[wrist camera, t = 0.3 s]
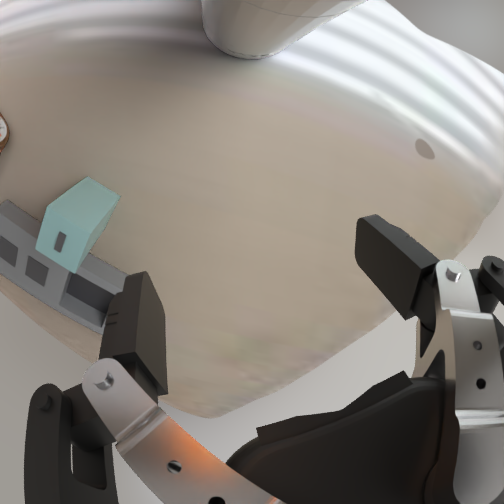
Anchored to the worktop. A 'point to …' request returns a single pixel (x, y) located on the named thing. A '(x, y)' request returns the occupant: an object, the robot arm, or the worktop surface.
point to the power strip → (55, 272)
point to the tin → (3, 133)
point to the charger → (75, 223)
